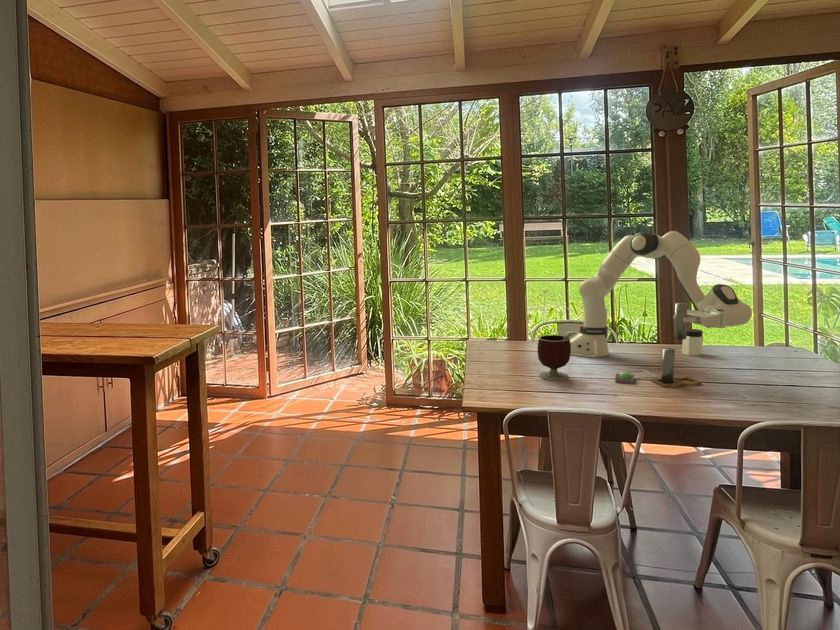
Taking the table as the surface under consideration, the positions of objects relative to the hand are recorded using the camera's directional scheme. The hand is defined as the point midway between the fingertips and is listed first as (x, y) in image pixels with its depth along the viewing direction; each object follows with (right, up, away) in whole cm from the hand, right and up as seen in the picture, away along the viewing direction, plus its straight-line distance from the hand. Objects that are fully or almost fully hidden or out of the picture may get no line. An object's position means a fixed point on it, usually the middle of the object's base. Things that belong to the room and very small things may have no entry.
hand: (678, 318), depth 211 cm
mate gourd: (-44, -25, +20) cm, 54 cm away
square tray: (-10, -25, +16) cm, 31 cm away
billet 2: (+1, -8, +1) cm, 8 cm away
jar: (+32, -18, +52) cm, 64 cm away
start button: (-19, -26, +7) cm, 33 cm away
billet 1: (-4, -26, +1) cm, 26 cm away
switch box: (-19, -27, +7) cm, 33 cm away
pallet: (0, -27, +2) cm, 27 cm away
